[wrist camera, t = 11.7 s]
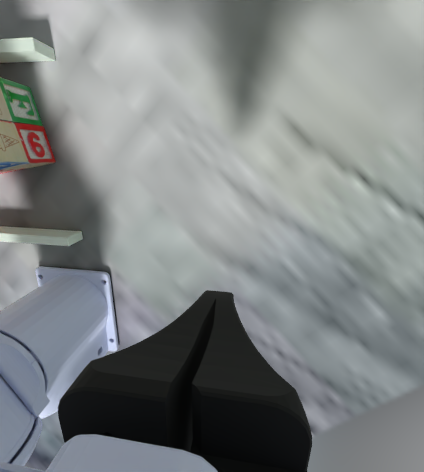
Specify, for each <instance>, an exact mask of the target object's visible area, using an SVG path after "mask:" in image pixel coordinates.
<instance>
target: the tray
mask: <svg viewBox="0 0 424 472" xmlns="http://www.w3.org/2000/svg"><path fill="white" fill-rule="evenodd" d="M39 61H56V60H55V54H54V49H53V48H51V47H49V46H48V45H46V44H44V43H42V42H40V41H38V40H36V39H35V38H33V37H31V38H12V39H0V63H12V62H39ZM82 239H83V236H82V231H70V230H54V229H38V228H22V227H6V226H0V241H3V242H17V243H31V244H45V245H59V246H70V245H72V244H74V243H76V242H78V241H80V240H82Z"/></svg>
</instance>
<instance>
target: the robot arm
mask: <svg viewBox="0 0 424 472" xmlns="http://www.w3.org/2000/svg"><path fill="white" fill-rule="evenodd" d="M35 271H36V276H37V281H38V285H39V287H38V288H37V289H35V290H34V291H32V292H30V293H29V294H27V295H26V296H24V297H22V298H21V299H19V300H18V301H16V302H14V303H13V304H11V305H10V306H8V307H6V308H5V309H3V310H2V311H0V472H307V467H308V462H309V457H310V452H311V447H312V435H311V430H310V426H309V423H308V420H307V417H306V414H305V411H304V408H303V406H302V403H301V401H300V399H299V396H298V394H297V392H296V390H295V389H294V388H293V387H292V386H291V385H290V384H289V383H288V382H286V381H285V380H284V379H283V378H282V377H281V376H280V375H278V374H277V373H276V372H275V371H274V369H273V368H272V367H271V366H270V365H269V364H268V363H267V361H266V360H265V359H264V358H263V357H262V355H261V354H260V353H259V352H258V350H257V349H256V347H255V346H254V344H253V343H252V341H251V340H250V338H249V337H248V335H247V333H246V331H245V329H244V327H243V325H242V323H241V321H240V319H239V316H238V313H237V311H236V308H235V304H234V299H233V294H232V293H230V292H219V291H208V290H207V291H205V292H204V293H203V294H202V295H201V296H200V298H199V299H198V300H197V301H196V302H195V303H194V304H193V305H192V306H191V307H190V308H189V309H187V310H186V311H185V312H184V313H183V314H182V315H181V316H179V317H178V318H177V319H176V320H175V321H173V322H172V323H171V324H169V325H168V326H167V327H165V328H164V329H162V330H161V331H159V332H157V333H156V334H154V335H152V336H150V337H148V338H147V339H145V340H143V341H141V342H139V343H137V344H135V345H132V346H130V347H128V348H126V349H123V350H121V351H118V352H116V353H113V354H110V355H107V356H105V354H106V353H107V352H108V351H116V350H117V349H118V347H119V345H118V337H117V329H116V321H115V313H114V305H113V297H112V289H111V281H110V275H109V274H108V273H107V272H101V271H90V270H78V269H66V268H55V267H43V266H40V267H38V268H36V270H35ZM42 276H43V277H42ZM104 280H105V281H106V283H105V282H104ZM57 411H58V416H59V421H60V425H61V429H62V433H63V438H64V442H65V443H64V444H63V445H62V447H61V449H60V450H59V452H58V453H57V455H56V456H55V458H54V459H53V461H52V462H51V464H50V465H49V467H48V469H47V470H46V471H44V470H39V469H34V468H29V467H24V465H25V464H26V462H27V461H28V459H29V458H30V456H31V454H32V452H33V451H34V449H35V446H36V444H37V441H38V439H39V437H40V434H41V431H42V426H43V424H42V420H41V419H42V418H45V417H47V416H50V415H52V414H53V413H55V412H57Z"/></svg>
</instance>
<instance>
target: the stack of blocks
mask: <svg viewBox="0 0 424 472" xmlns="http://www.w3.org/2000/svg"><path fill="white" fill-rule="evenodd" d="M55 162H56V161H55V158H54V155H53V152H52V149H51V146H50V143H49V141H48V138H47V135H46V132H45V129H44V127H43V125H42V122H41V119H40V116H39V113H38V110H37V107H36V104H35V101H34V98H33V95H32V92H31V89H30V87H28V86H24V85H22V84H19V83H16V82H13V81H10V80H7V79H4V78H1V77H0V173H6V172H11V171H16V170H21V169H26V168H32V167H37V166H42V165H47V164H52V163H55Z"/></svg>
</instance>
